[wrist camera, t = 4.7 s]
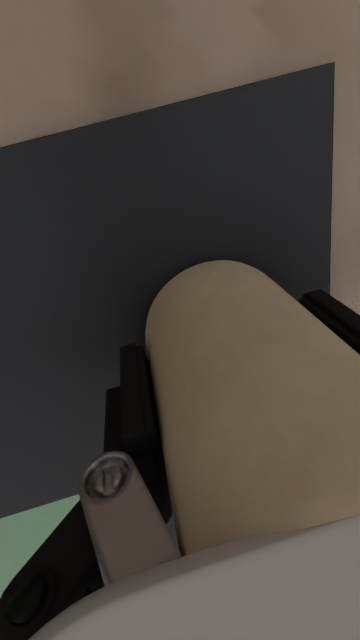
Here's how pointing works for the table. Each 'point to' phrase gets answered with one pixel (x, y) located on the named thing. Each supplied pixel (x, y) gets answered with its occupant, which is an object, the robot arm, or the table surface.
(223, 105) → the desk pad
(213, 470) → the candle
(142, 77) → the table surface
